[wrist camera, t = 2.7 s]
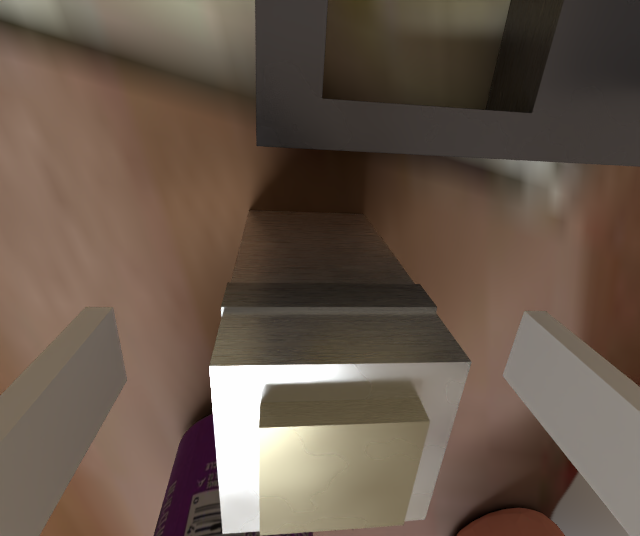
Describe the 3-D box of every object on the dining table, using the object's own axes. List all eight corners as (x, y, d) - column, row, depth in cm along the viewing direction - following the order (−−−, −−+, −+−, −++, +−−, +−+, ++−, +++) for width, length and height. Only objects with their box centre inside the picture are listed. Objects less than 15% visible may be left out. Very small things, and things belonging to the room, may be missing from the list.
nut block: (249, 312, 18) (216, 565, 8) (247, 207, 16) (199, 386, 6) (353, 312, 18) (434, 547, 9) (365, 211, 16) (491, 378, 7)
